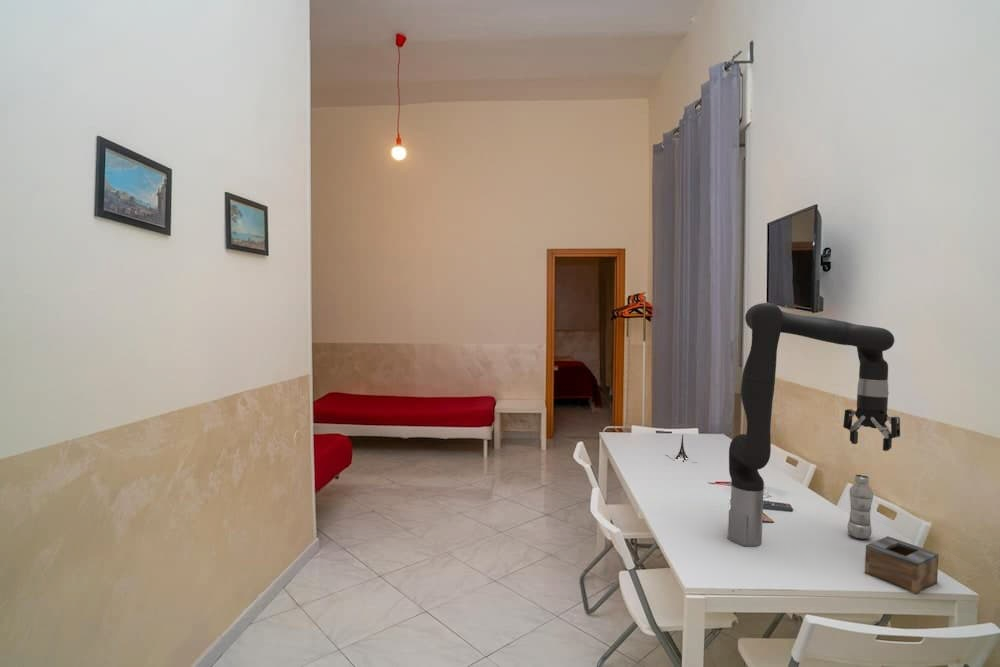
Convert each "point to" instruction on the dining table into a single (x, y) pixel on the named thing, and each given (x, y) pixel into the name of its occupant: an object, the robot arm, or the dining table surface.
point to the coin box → (901, 564)
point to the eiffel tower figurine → (682, 451)
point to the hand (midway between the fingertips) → (869, 447)
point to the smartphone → (766, 519)
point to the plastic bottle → (860, 508)
